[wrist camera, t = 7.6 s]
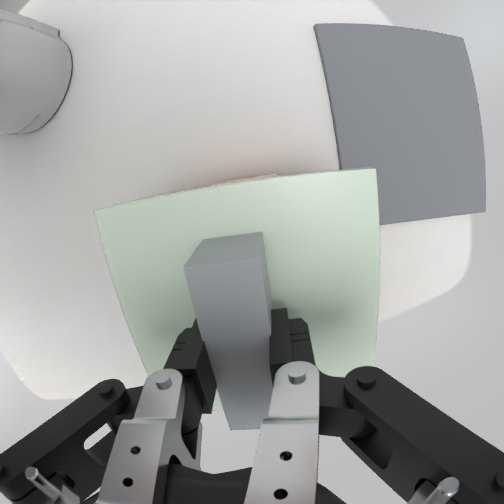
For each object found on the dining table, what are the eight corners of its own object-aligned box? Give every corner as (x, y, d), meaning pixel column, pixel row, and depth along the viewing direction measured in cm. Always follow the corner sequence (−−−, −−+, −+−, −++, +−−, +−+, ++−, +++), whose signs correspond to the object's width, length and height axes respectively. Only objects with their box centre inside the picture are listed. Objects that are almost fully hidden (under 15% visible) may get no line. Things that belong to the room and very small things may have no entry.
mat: (313, 26, 16) (315, 23, 15) (459, 39, 15) (462, 38, 14) (346, 227, 21) (348, 229, 20) (481, 210, 20) (485, 211, 19)
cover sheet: (102, 207, 13) (53, 228, 9) (369, 167, 11) (408, 175, 8) (167, 400, 16) (150, 446, 13) (366, 385, 15) (382, 434, 12)
